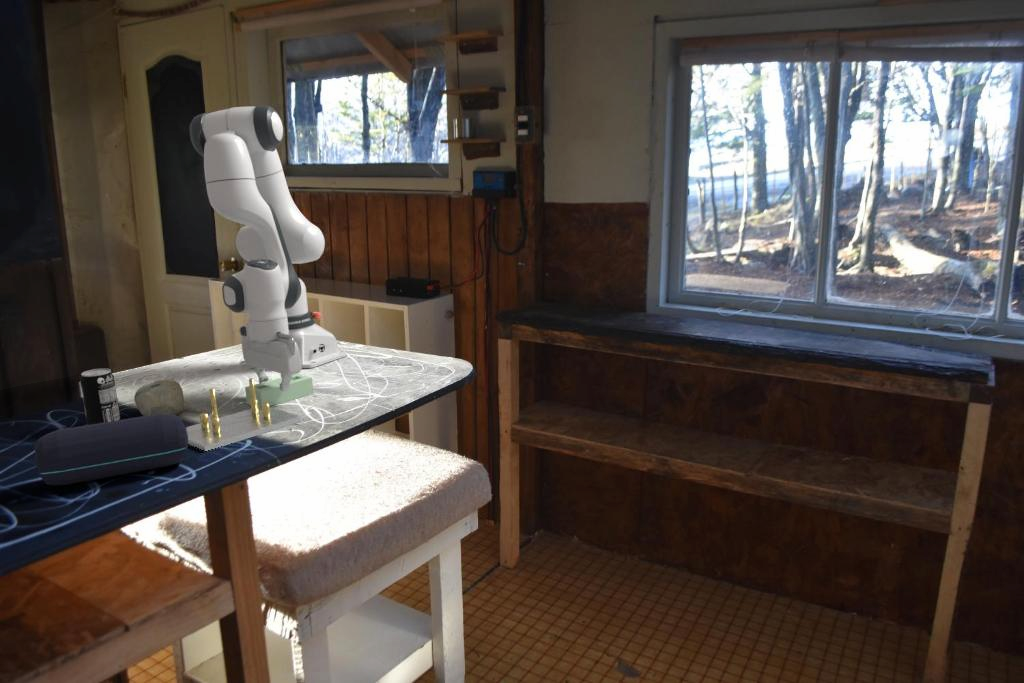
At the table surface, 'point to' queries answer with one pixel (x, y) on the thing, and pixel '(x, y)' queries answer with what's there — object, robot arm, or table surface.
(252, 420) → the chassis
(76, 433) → the portable speaker
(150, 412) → the stone
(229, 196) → the robot arm
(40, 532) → the table surface
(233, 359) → the table surface
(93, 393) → the beverage can
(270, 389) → the board
